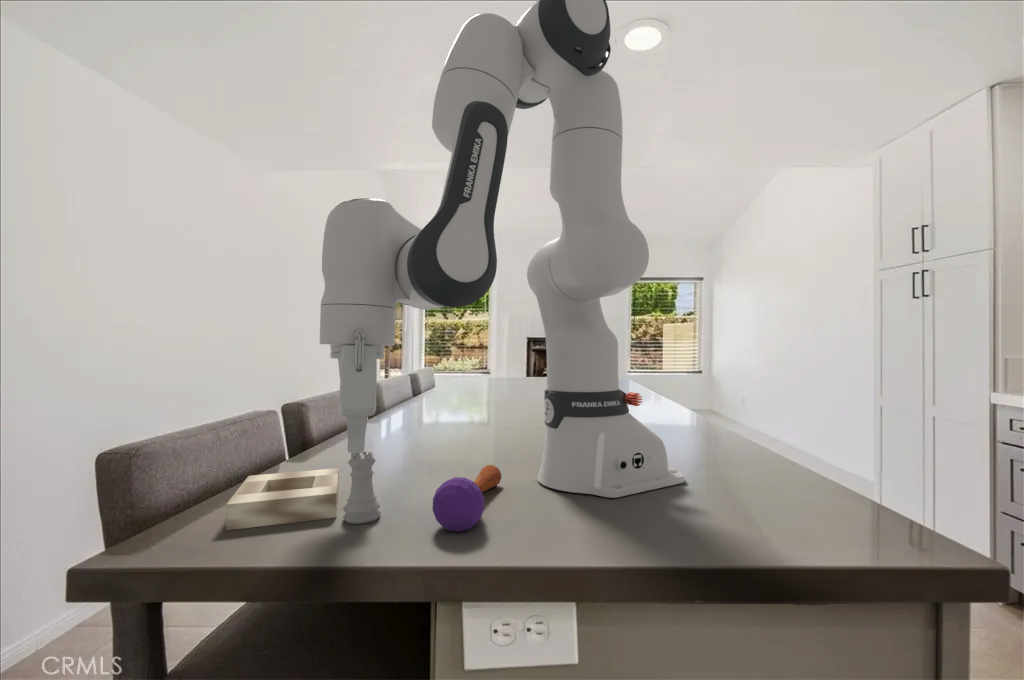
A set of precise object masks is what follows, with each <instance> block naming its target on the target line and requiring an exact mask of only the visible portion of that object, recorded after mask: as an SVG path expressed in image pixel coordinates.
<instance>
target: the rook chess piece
mask: <svg viewBox="0 0 1024 680" xmlns="http://www.w3.org/2000/svg"><path fill="white" fill-rule="evenodd" d="M375 463H376V459H375V458H374V456H373V452H372V451H366V450H364V451H363V452H362V454H361V453H350V459H349V461H347V464H348V465H349V467H351V472H350V474H349V476H350V477H351V483H350V484H351V486H350V492H349V497H348V499H347V502H346V503H345V505H343V506H344V507H343V511H344V515H343V516H342V518H343V520H344V521H345V523H347V524H350V525H365V524H366V523H367V524H370V523H373V522H375V521H376V520H378V519H379V517H380V516H381V514H382V512H381V511H380V510H379V509H380V508H381V505H380V501H379V500H378V499H377V496H376V495H375V492H374V491H375V490H374V485H373V484H374V483H373V475H374V474H375V473H374V471H373V465H374V464H375ZM367 524H366V525H367Z"/></svg>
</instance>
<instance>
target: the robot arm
mask: <svg viewBox="0 0 1024 680" xmlns="http://www.w3.org/2000/svg"><path fill="white" fill-rule="evenodd" d="M608 6H609V5H608V3H607V1H606V0H536V1H535V2H534V3H533V4H532V5H531V6H530V7H529V8H528V9H527V11H525V13H524V14H523V15H522V16H521V17H520V18H519V20H518V21H517V24H515V25H513V24H512V22H511V21H509V20H507V18H505V17H503V16H501V15H499V14H495V13H490V12H488V13H487V12H486V13H485V12H484V13H479V14H475V15H474V16H471V18H469V19H468V20H467V21H466V22H465V23H464V24H463V25H462V27H461V29H460V31H459V33H458V34H457V36H456V38H455V40H454V41H453V45H452V46H451V48H450V50H449V52H448V54H447V57H446V60H445V63H444V66H443V68H442V71H441V75H440V78H439V82H438V84H437V89H436V91H435V97H434V101H433V109H432V118H431V120H432V122H431V127H432V131H433V132H434V135H435V137H436V138H437V140H438V142H439V143H440V145H442V146H443V147H444V148H445V149H446V150H447V151H448V152H450V153H451V156H450V160H449V163H448V169H447V173H446V179H445V183H444V187H443V191H442V195H441V199H440V203H439V204H440V205H439V207H438V209H437V211H436V212H435V214H434V216H433V217H432V218H431V219H430V221H428V222H427V224H426V225H425V226H424V227H423V228H421V227H418V226H417V225H415V224H414V223H412V222H411V221H410V220H408V219H406V218H405V217H404V216H403V215H402V214H400V213H399V212H398V211H397V210H396V209H395V208H394V206H393V205H392V204H391V203H390V202H389V201H387V200H383V199H379V198H373V197H362V198H361V197H360V198H353V199H350V200H349V199H348V200H346V201H343V202H340V203H339V204H337V205H336V206H334V208H332V210H331V211H330V212H329V213H328V216H327V218H326V222H325V227H324V232H323V241H322V251H321V253H322V254H321V272H322V273H321V274H322V277H323V279H324V280H323V281H324V290H323V293H322V294H323V295H322V297H321V300H320V315H319V316H320V319H319V320H320V322H319V344H320V345H328V346H330V353H329V355H330V358H331V359H336V360H337V362H338V373H339V404H338V405H339V414H340V416H342V417H346V429H347V452H348V453H349V454H352V453H360V454H361V453H362V454H363V451H365V444H366V442H365V441H366V434H367V433H366V430H367V423H368V416H369V417H371V416H374V415H375V414H376V413H375V412H376V407H377V380H378V379H377V378H378V377H377V376H378V373H377V369H378V367H377V365H378V364H377V363H378V360H384V359H385V347H387V346H389V347H391V346H392V347H393V346H395V345H396V313H397V312H396V308H397V307H396V306H397V303H398V304H400V305H401V304H402V305H405V306H409V307H411V308H414V309H418V310H419V309H420V310H434V309H443V308H463V307H467V306H469V305H472V304H474V303H476V302H478V301H479V300H480V299H482V298H484V296H485V295H486V293H488V291H489V290H490V288H491V287H492V285H493V283H494V280H495V277H496V274H497V269H498V268H497V266H498V257H497V247H496V241H495V240H496V239H495V227H494V226H495V215H496V208H497V203H498V198H499V192H500V186H501V183H502V177H503V171H504V165H505V160H506V155H507V148H508V140H509V134H510V129H511V126H512V124H513V123H512V122H513V121H514V116H515V111H516V109H520V110H527V109H532V108H534V107H537V106H539V105H541V104H543V103H544V102H546V100H547V99H548V100H549V102H550V104H551V108H552V113H553V114H552V115H553V119H554V120H553V127H552V135H551V136H552V137H551V150H550V151H551V155H550V156H551V157H550V172H549V173H550V174H549V176H550V177H549V180H550V181H549V193H550V195H551V197H552V199H553V200H554V201H555V203H557V205H558V208H559V212H560V217H561V225H562V228H561V234H560V236H559V237H557V238H555V239H552V240H550V241H548V242H547V243H545V244H544V245H542V246H541V248H539V249H538V251H537V252H536V253H535V254H534V255H533V256H532V258H531V260H530V261H529V262H528V266H527V270H526V271H527V273H526V276H527V277H526V278H527V283H528V286H529V288H530V290H531V291H532V293H533V294H534V295H535V297H536V300H537V304H538V307H539V308H538V309H539V312H540V317H541V321H542V325H543V330H544V335H545V344H546V346H545V347H546V386H547V387H546V389H544V397H543V398H544V400H543V401H544V402H543V416H544V425H545V427H546V428H545V438H544V446H543V452H542V459H541V464H540V468H539V471H538V475H537V481H538V482H539V483H540V484H541V485H543V486H545V487H547V488H551V489H554V490H558V491H563V492H567V493H573V494H574V493H575V494H576V493H577V494H585V495H586V494H588V495H595V496H600V497H604V498H611V499H612V498H613V499H615V498H620V497H624V496H630V495H634V494H639V493H643V492H647V491H652V490H657V489H660V488H666V487H670V486H675V485H678V484H683V483H685V479H684V475H683V473H682V472H681V471H679V470H678V469H676V468H675V467H672V466H669V460H668V454H667V450H666V446H665V444H664V441H663V440H662V439H661V437H660V436H659V435H658V434H656V433H655V432H654V431H652V430H651V429H650V428H648V427H647V426H646V425H644V424H643V422H641V421H640V420H639V419H637V418H636V417H635V416H633V415H632V414H631V413H629V412H630V409H629V406H634V407H639V406H640V405H642V404H641V403H643V401H642V400H643V396H642V395H641V393H639V392H633V391H632V392H631V391H629V392H628V393H626V392H625V391H623V390H621V389H620V388H619V382H620V381H619V341H618V338H617V336H616V335H615V333H614V332H613V331H612V330H611V329H610V328H609V326H608V324H607V322H606V320H605V316H604V313H603V309H602V306H601V298H606V297H611V296H615V295H617V294H619V293H621V292H622V291H624V290H626V289H628V288H630V287H632V285H635V284H637V282H638V281H639V280H641V278H642V277H643V276H644V275H645V273H646V270H647V268H648V265H649V259H650V258H649V257H650V252H649V246H648V245H649V244H648V242H647V241H648V240H647V239H646V237H645V234H644V233H643V231H642V230H641V229H640V228H639V227H638V226H637V225H636V224H635V223H634V222H632V221H631V220H630V217H629V216H628V214H627V210H626V207H625V203H624V198H623V197H624V196H623V191H622V163H623V162H622V160H623V159H622V158H623V155H622V154H623V112H622V103H621V95H620V91H619V86H618V84H617V82H616V80H615V78H614V77H613V76H612V75H610V73H607V72H606V71H604V70H603V69H604V68H605V67H606V65H607V63H608V61H609V58H610V55H611V51H612V49H611V48H612V47H611V45H610V44H611V43H610V39H611V20H610V13H609V12H610V11H609V7H608ZM628 405H629V406H628Z"/></svg>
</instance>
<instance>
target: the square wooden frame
mask: <svg viewBox="0 0 1024 680" xmlns="http://www.w3.org/2000/svg"><path fill="white" fill-rule="evenodd" d="M339 470H340V469H339V467H335V468H322V469H312V470H298V471H290V472H289V471H288V472H275V473H264V474H255V475H248V476H247V477H246V478H245V480H244V481H243V483H242V484H241V485H240V486H239V487H238V488H237V490H236V491H235V493H234V494H233V495H232V497H230V499H229V500H228V501H227V503H225V514H226V515H225V531H233V530H243V529H250V528H257V527H259V528H260V527H267V526H276V525H282V524H283V525H285V524H293V523H300V522H308V521H317V520H319V521H320V520H324V519H334V518H337V516H338V515H337V514H338V503H339V491H340V490H339V488H340V487H339V486H340V484H339V483H340V482H339V479H340V478H339V475H340V471H339Z"/></svg>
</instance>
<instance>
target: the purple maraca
mask: <svg viewBox="0 0 1024 680" xmlns="http://www.w3.org/2000/svg"><path fill="white" fill-rule="evenodd" d="M501 480H502V473H501V470H500V469H499V468H498V467H497V466H496V465H494V464H488V465H485V466H484V467H483V468H482V469H481V470H480V472H479V473H478V475H477V476H476V478H475V480H471V479H468V478H466V477H461V476H460V477H459V476H458V477H457V476H455V477H453V478H450V479H448V480H445V481H444V482H442V484H441V485H439V487H438V488H437V489H436V490H435V493H434V496H433V498H432V512H433V515H434V517H435V520H436V521H437V522H438V523H439V525H440V526H441V527H443V528H444V529H446V530H449V531H451V532H465V531H468V530H470V529H471V528H473V526H475V525H476V524H477V523H478V522H479V520H480V519H481V518H482V515H483V513H484V511H485V497H484V495H483V492H485V491H488V490H490V489H493V488H494V487H497V486H498V485H499V484H500V482H501Z"/></svg>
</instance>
